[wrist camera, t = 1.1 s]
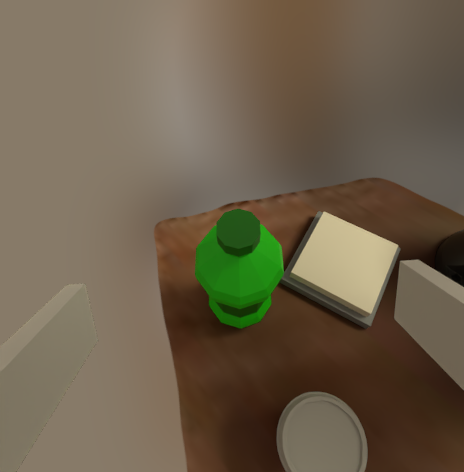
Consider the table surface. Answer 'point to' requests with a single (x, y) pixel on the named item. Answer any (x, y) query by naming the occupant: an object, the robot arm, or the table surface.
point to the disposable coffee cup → (321, 436)
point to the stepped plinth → (342, 268)
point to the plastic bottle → (239, 268)
